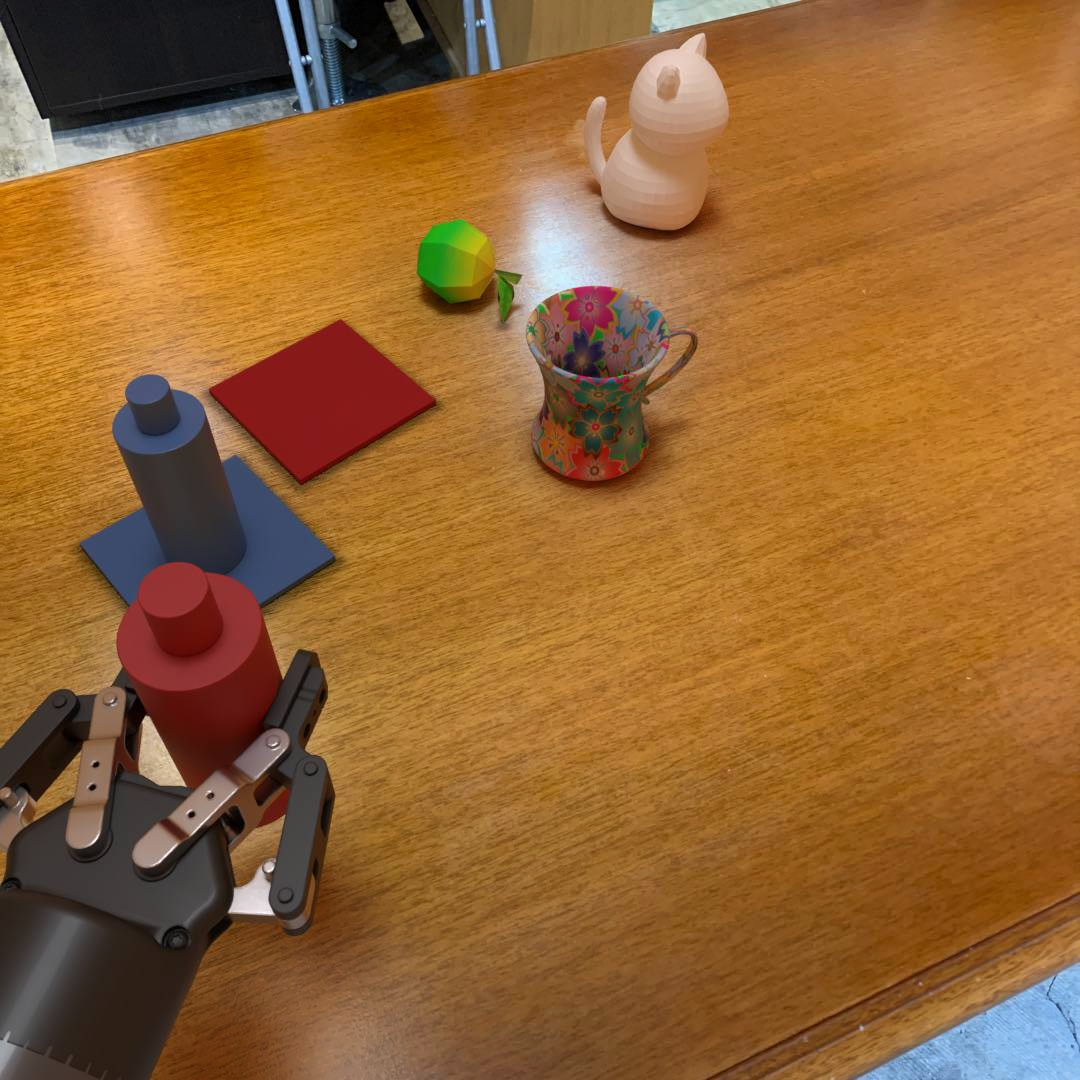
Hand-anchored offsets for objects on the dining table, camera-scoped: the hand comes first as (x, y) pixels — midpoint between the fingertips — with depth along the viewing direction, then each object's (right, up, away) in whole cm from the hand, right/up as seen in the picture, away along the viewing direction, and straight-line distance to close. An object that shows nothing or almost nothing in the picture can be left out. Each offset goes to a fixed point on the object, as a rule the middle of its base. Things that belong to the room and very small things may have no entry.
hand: (244, 645), depth 45 cm
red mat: (-4, +15, +36) cm, 39 cm away
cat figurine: (+21, +34, +51) cm, 65 cm away
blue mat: (-10, +3, +27) cm, 29 cm away
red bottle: (-1, -6, +4) cm, 7 cm away
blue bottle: (-10, +4, +26) cm, 28 cm away
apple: (+7, +24, +43) cm, 50 cm away
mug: (+17, +11, +34) cm, 39 cm away
